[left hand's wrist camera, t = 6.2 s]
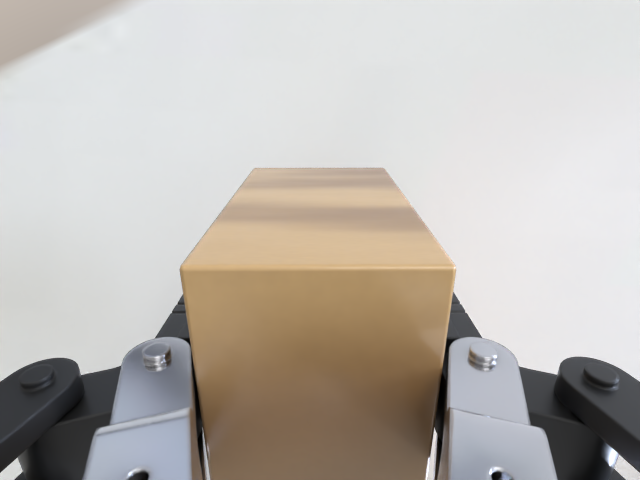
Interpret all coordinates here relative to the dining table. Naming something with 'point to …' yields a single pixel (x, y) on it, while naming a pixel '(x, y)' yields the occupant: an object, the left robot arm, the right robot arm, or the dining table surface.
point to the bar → (318, 328)
